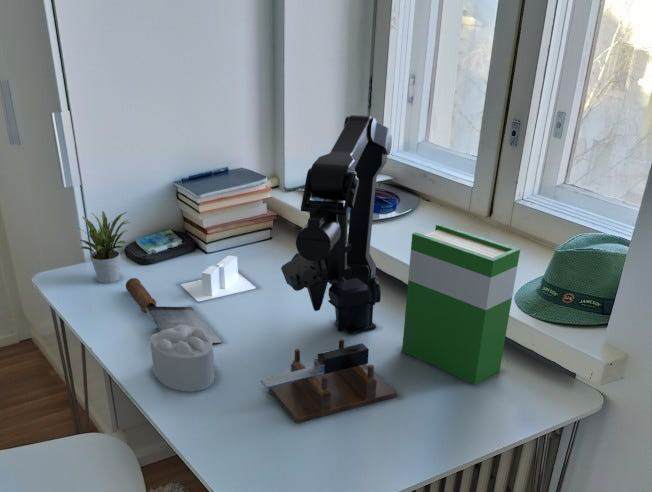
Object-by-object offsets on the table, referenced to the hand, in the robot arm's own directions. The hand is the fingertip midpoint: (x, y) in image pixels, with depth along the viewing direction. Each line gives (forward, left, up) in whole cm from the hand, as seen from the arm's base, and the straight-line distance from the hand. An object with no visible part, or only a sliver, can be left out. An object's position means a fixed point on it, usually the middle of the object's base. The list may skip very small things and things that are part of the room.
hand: (328, 320), depth 140 cm
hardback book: (-24, +5, -12) cm, 27 cm away
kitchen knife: (+5, +6, -6) cm, 10 cm away
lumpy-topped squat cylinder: (+24, -12, -12) cm, 29 cm away
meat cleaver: (+19, -38, -12) cm, 44 cm away
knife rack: (+2, +6, -12) cm, 13 cm away
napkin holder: (+4, -48, -12) cm, 50 cm away
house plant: (+25, -64, -12) cm, 70 cm away
